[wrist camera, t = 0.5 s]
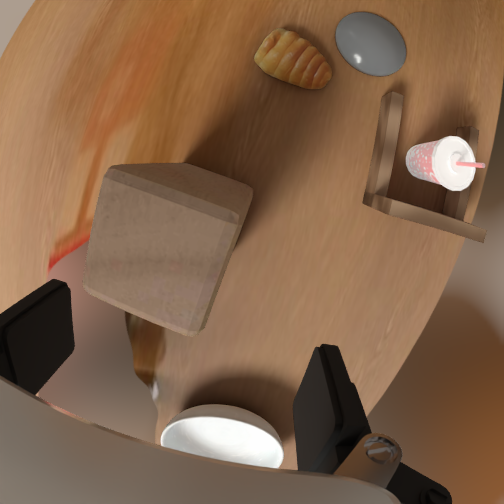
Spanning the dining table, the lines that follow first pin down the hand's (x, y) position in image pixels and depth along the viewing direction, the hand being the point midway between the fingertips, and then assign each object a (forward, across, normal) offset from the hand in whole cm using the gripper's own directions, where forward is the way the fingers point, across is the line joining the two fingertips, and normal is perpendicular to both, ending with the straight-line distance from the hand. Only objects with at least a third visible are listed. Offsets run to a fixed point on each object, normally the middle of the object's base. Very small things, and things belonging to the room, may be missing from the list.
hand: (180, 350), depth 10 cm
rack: (+29, -22, -13) cm, 38 cm away
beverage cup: (+29, -22, -13) cm, 39 cm away
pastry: (+30, -2, -21) cm, 36 cm away
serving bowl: (+30, -4, +38) cm, 48 cm away
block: (+29, +5, 0) cm, 30 cm away
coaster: (+29, -12, -27) cm, 41 cm away
